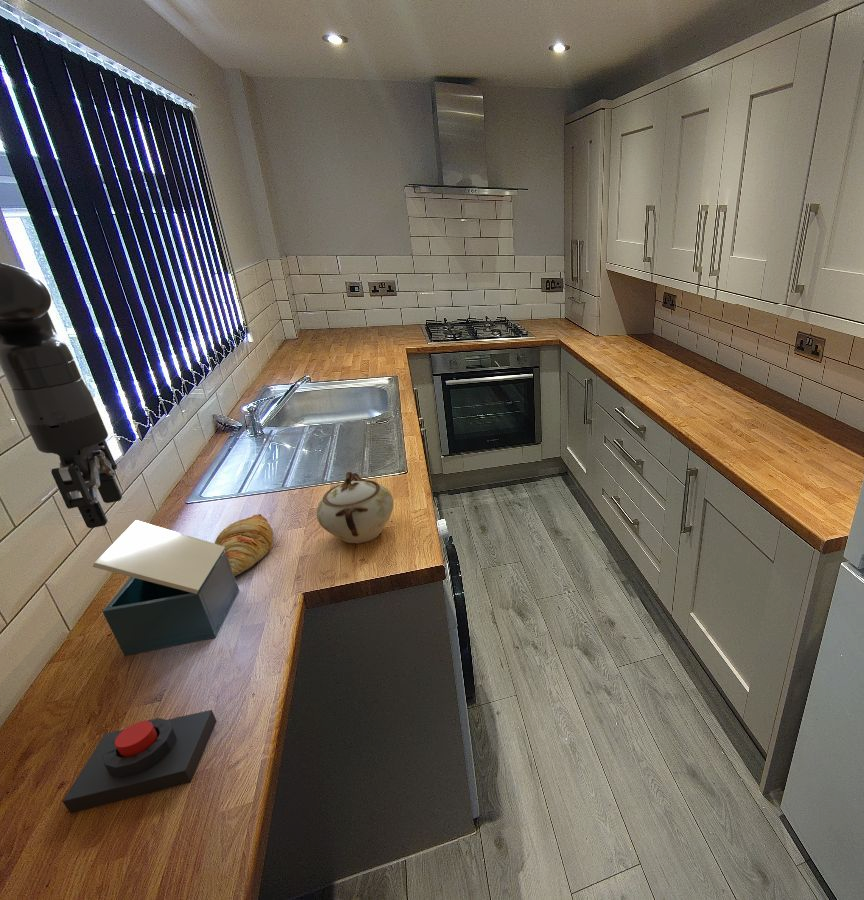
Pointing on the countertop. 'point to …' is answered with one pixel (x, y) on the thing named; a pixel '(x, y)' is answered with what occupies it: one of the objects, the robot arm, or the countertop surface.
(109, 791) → the switch block
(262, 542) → the croissant
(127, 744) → the button
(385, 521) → the sugar bowl
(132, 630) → the dark rectangular box
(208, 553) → the box lid
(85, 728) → the countertop surface
